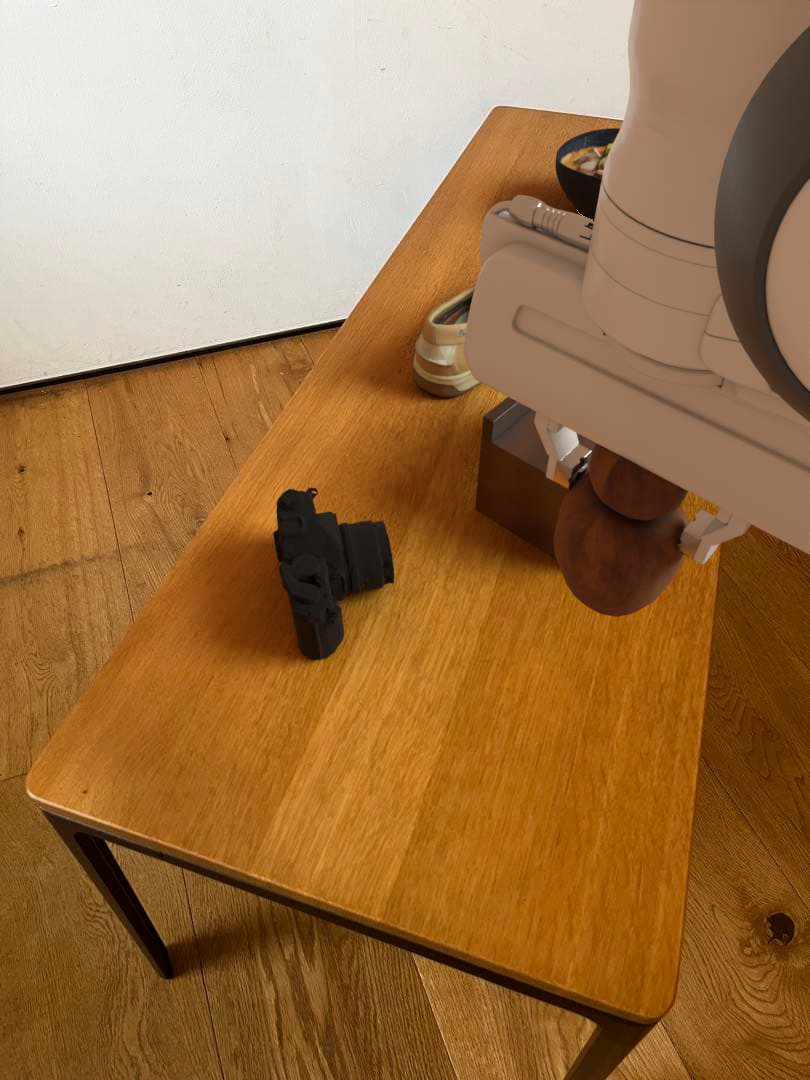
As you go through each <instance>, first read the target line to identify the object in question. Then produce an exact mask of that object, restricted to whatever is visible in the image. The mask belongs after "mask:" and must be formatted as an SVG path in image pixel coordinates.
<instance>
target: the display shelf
mask: <svg viewBox="0 0 810 1080" xmlns="http://www.w3.org/2000/svg"><path fill="white" fill-rule="evenodd" d="M535 414H536V411H534V410H532V409H530V408H528V407H526V406H525V405H523V404H521V403H519V402H517V401H515V400H513V399H511V398H509V397H507V396H506V398H505V399H503V400H502V401H501V402H499V403H498V404H496V406H494V407H493V408H492V409H491V410H489V411H488V412H486V413H485V414H484V415H482V426H481V434H480V436H481V437H480V447H479V448H480V449H479V459H478V470H477V479H476V480H477V481H476V492H475V504H474V509H475V510H476V511H478V512H479V513H481V514H483V516H486V517H487V518H489V519H491V520H492V521H494V522H495V523H496V524H498V525H500V526H502V527H503V528H505V529H507V530H508V531H510V532H511V533H513V534H514V535H516V536H518V537H520V538H522V539H523V540H525V541H526V542H527V543H529V544H531V545H533V546H534V547H535V548H537V549H539V550H540V551H542V552H544V553H546V554H547V555H549V556H551V557H552V558H553V559H555V560H557V559H556V555H555V550H554V541H553V539H554V534H555V529H556V524H557V519H558V514H559V510H560V507H561V504H562V501H563V498H564V496H565V495H566V494H567V493H568V492H569V489H567V488H565V487H564V486H562V485H560V484H558V483H556V482H555V481H553V480H551V479H549V478H547V477H546V472H547V466H548V460H549V455H547V452H546V450H545V448H544V445H543V443H542V440H541V438H540V436H539V433H538V431H537V428H536V426H535V424H534V420H535ZM577 437H578V441H579V444H580V445H582V446H584V447H586V448H587V449H589V450H591V451H592V452H593V449H594V446H595V444H596V443H595V442H593V441H591V440H589V439H588V438H586V437H584V436H582V435H580V434H578V433H577ZM592 452H591V456H592ZM591 456H590V460H589V461H588V462H587V465H588V469H587V472H586V473H588V472H589V471H590V464H591ZM575 483H576V482H575Z"/></svg>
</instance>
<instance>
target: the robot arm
mask: <svg viewBox="0 0 810 1080" xmlns="http://www.w3.org/2000/svg"><path fill="white" fill-rule="evenodd" d="M630 18H631V19H630V22H629V23H630V24H629V28H628V30H629V31H628V35H627V36H628V39H627V56H628V57H627V59H628V69H629V91H628V92H629V94H628V100H627V107H626V111H625V114H624V117H623V120H622V124H621V125H620V128H619V129H620V131H619V133H618V135H617V137H616V139H615V141H614V143H613V145H612V147H611V149H610V151H609V154H608V156H607V159H606V162H605V166H604V170H603V175H602V181H601V186H600V192H599V198H598V203H597V208H596V214H595V219H594V220H591V219H589V218H586V217H583V216H581V215H578V213H575V212H571V211H568V210H567V211H566V210H562V209H558V208H556V207H552V206H550V205H548V204H546V202H544V201H543V200H541V199H538V198H536V197H533V196H529V195H524V194H523V195H522V194H518V195H515V196H514V197H513V198H512V200H503V201H499V202H498V203H496V204H495V205H494V206H492V207H491V208H490V209H489V211H488V212H487V214H486V216H484V218H483V222H482V225H481V231H480V232H481V234H480V244H479V245H480V247H479V260H480V264H481V265H480V266H481V269H480V271H479V274H478V277H477V280H476V283H475V284H476V286H475V290H474V294H473V298H472V302H471V306H470V311H469V317H468V322H467V328H466V334H465V342H464V359H465V361H466V363H467V365H468V368H469V370H470V372H471V374H472V375H473V377H474V378H475V379H476V380H477V381H479V382H481V383H480V384H482V385H484V386H487V388H490V389H492V390H494V391H496V392H498V393H500V394H501V395H504V396H505V397H506V398H507V397H509V398H511V399H513V400H515V401H517V402H519V403H521V404H523V405H525V406H526V407H528V408H530V409H532V410H534V411H536V414H535V420H534V424H535V426H536V428H537V431H538V433H539V436H540V438H541V440H542V443H543V445H544V448H545V450H546V452H547V455H549V460H548V466H547V472H546V477H547V478H549V479H551V480H553V481H555V482H556V483H558V484H560V485H562V486H564V487H565V488H567V489H569V490H570V489H571V488H572V487H573V486H574V484H575V482H577V481H578V479H579V478H580V477H581V476H582V475H584V474H586V472H587V469H588V465H587V462H588V461H589V460H590V456H591V452H592V451H591V450H589V449H587V448H586V447H584V446H582V445H580V444H579V441H578V437H577V433H578V434H580V435H582V436H584V437H586V438H588V439H589V440H591V441H593V442H595V443H597V444H599V445H601V446H603V447H605V448H607V449H609V450H610V451H612V452H614V453H616V454H618V455H620V456H622V457H624V458H626V459H628V460H630V461H632V462H634V463H636V464H637V465H639V466H641V467H643V468H645V469H647V470H649V471H651V472H652V473H654V474H656V475H658V476H660V477H662V478H664V479H666V480H668V481H670V482H672V483H673V484H675V485H677V486H679V487H681V488H683V489H685V490H687V491H688V493H690V494H693V495H695V496H696V497H698V498H701V499H703V500H704V501H706V502H708V503H709V504H712V505H713V506H716V507H717V508H718V510H717V513H716V515H714V514H712V513H710V512H708V511H706V510H704V509H702V508H701V509H699V511H698V512H697V513H696V514H695V515H694V517H693V520H692V521H689V524H688V525H687V526H686V527H685V528H684V529H683V532H682V534H681V537H680V542H679V543H678V544H677V547H676V550H677V551H679V552H681V553H682V554H684V555H686V558H689V559H691V560H692V561H695V562H696V563H698V564H699V565H701V566H703V565H705V564H706V563H707V561H708V560H709V559H710V558H711V557H712V556H713V554H714V553H715V552H716V550H717V548H718V547H719V545H721V544H722V543H725V542H727V541H731V540H732V539H735V538H737V537H741V536H743V535H744V534H746V532H747V530H748V529H749V528H750V527H751V526H754V527H756V528H758V529H760V530H761V531H763V532H766V533H767V534H769V535H771V536H773V537H774V538H777V539H779V540H780V541H782V542H785V543H786V544H788V545H790V546H792V547H794V548H796V549H798V550H800V551H801V552H804V553H805V554H807V555H809V556H810V0H634V2H633V8H632V14H631V17H630Z"/></svg>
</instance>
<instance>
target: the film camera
mask: <svg viewBox="0 0 810 1080" xmlns="http://www.w3.org/2000/svg"><path fill="white" fill-rule="evenodd" d="M315 492H316V493H315ZM318 494H319V492H318V489H317V488H316V487H307V489H306V491H304V490H297V489H295V488H288V489H287V490H285V491H283V492H282V493H281V494H280V496H279V497H278V498H277V501H276V509H275V511H276V513H275V514H276V525H277V528H276V530H274V531H273V534H272V535H273V542H274V550H275V554H276V558H277V561H278V562H279V563H280V565H279V567H278V570H279V576H280V580H281V584H282V588H283V589H284V590H285V591H286V593H287V597H288V602H289V606H290V611H291V617H292V623H293V627H294V630H295V636H296V641H297V648H298V650H299V651H300V653H301V654H302V655H303V657H306V658H308V659H310V660H314V661H318V660H324V659H327V658H329V657H330V656H331V655H333V654H334V653H336V651H337V649H338V647H339V646H340V645H341V644H342V642H343V640H344V638H345V627H344V619H343V610H342V607H341V605H339V604H337V602H338V601H342V600H345V597H346V596H347V595H348V594H349V595H350V594H352V595H357V594H361V593H362V592H364V591H367V592H369V591H373V590H381V589H383V588H384V585H389V584H394V583H395V567H394V560H393V552H392V547H391V542H390V537H389V534H388V530H387V526H386V524H385V521H384V520H379V521H372V520H371V519H369V520H362V521H361V520H360V521H358V522H357V521H356V522H353V523H348V522H347V521H346V522H342V523H339V521H338V517H337V513H336V512H333V511H330V510H329V511H328V510H327V511H325V512H318V513H317V511H316V506H315V501H314V499H315V498H316V497H317V496H318Z"/></svg>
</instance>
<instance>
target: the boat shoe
mask: <svg viewBox="0 0 810 1080" xmlns="http://www.w3.org/2000/svg"><path fill="white" fill-rule="evenodd" d="M475 286H476V283H475V284H474V285H472V286H470V287H468V288H466V289H464V290H463V291H461V292H460V293H458V294H456V295H455V296H453V297H451V298H450V299H448V301H445V302H442V303H441V304H439V305H438V306H436V307H434V308H433V309H432V310H430V312H429V314H428V315H427V317H426V319H425V321H424V325H423V328H422V330H421V333H420V335H419V337H418V338H417V339H416V342H415V345H414V348H415V353H414V357H413V363H412V364H413V368H412V377H413V380H414V382H415V383H416V384H417V386H418V387H420V388H421V389H422V390H424V391H426V392H428V393H431V394H432V395H435V396H438V397H441V398H453V397H458V396H461V395H463V394H466V393H467V392H469V391H472V390H473V389H475V388H476V387H477V386H479V385H480V384H482V383H481V382H479V381H477V380H476V379H475V378H474V377H473V375H472V374H471V372H470V370H469V368H468V365H467V363H466V361H465V359H464V342H465V334H466V328H467V322H468V317H469V311H470V306H471V302H472V298H473V294H474V290H475Z"/></svg>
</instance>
